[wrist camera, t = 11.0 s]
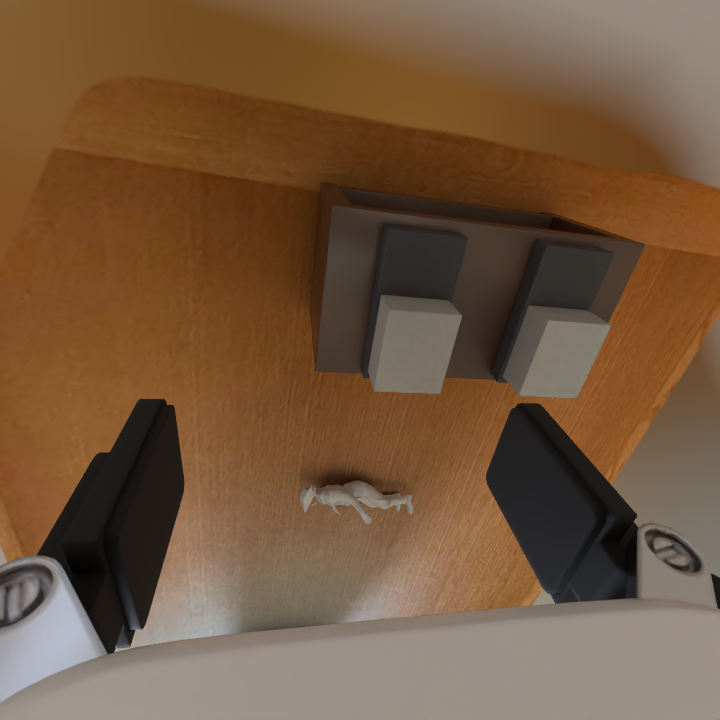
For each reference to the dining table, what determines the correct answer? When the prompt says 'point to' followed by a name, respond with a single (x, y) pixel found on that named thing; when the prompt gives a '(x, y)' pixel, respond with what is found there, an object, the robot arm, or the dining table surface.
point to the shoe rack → (475, 281)
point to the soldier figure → (354, 497)
